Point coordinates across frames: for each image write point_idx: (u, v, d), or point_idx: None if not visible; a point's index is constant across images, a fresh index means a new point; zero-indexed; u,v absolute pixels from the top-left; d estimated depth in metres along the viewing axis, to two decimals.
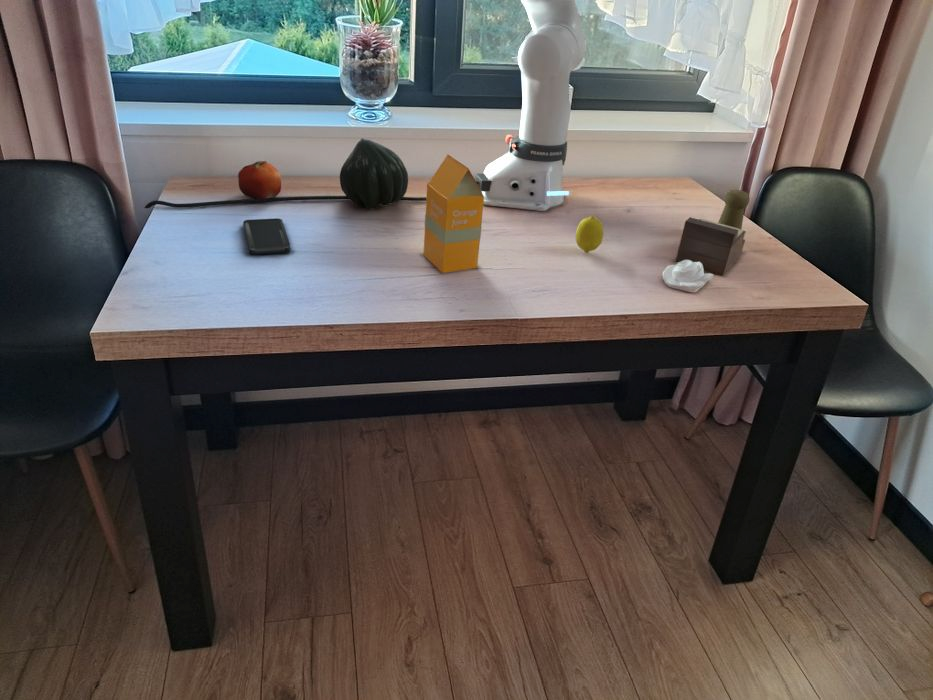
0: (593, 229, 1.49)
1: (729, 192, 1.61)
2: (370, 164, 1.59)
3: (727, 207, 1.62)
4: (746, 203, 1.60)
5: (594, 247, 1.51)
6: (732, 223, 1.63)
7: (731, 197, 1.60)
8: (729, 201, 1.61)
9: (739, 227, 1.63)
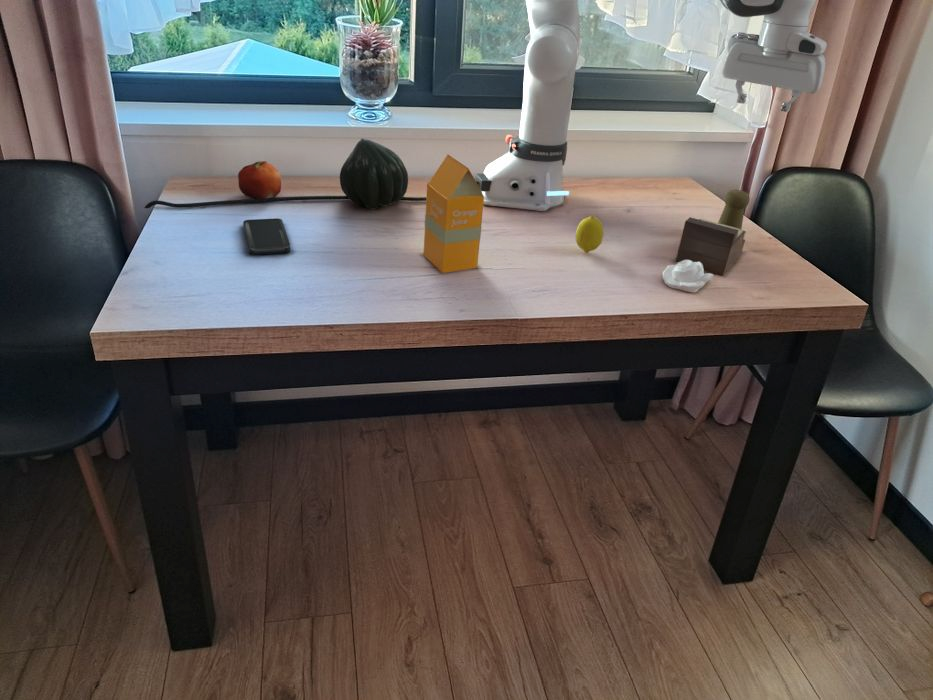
0: (593, 229, 1.49)
1: (729, 192, 1.61)
2: (370, 164, 1.59)
3: (727, 207, 1.62)
4: (746, 203, 1.60)
5: (594, 247, 1.51)
6: (732, 223, 1.63)
7: (731, 197, 1.60)
8: (730, 201, 1.61)
9: (739, 227, 1.63)
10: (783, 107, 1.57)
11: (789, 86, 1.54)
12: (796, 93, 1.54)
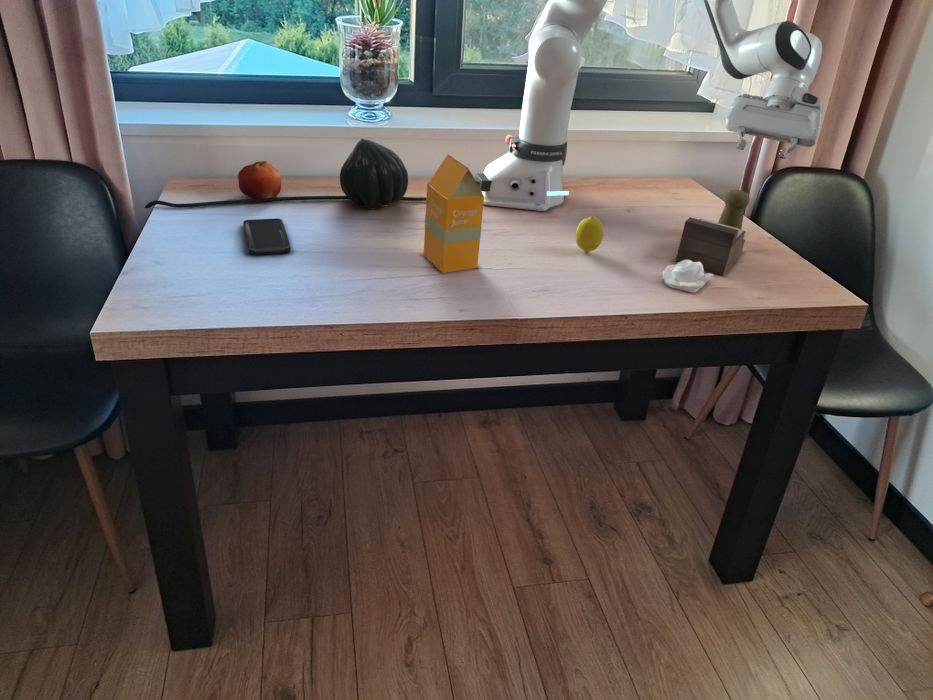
0: (593, 229, 1.49)
1: (729, 192, 1.61)
2: (370, 164, 1.59)
3: (727, 207, 1.62)
4: (746, 203, 1.60)
5: (594, 247, 1.51)
6: (732, 223, 1.63)
7: (731, 197, 1.60)
8: (730, 201, 1.61)
9: (739, 227, 1.63)
10: (782, 151, 1.65)
11: (790, 132, 1.64)
12: (795, 140, 1.64)
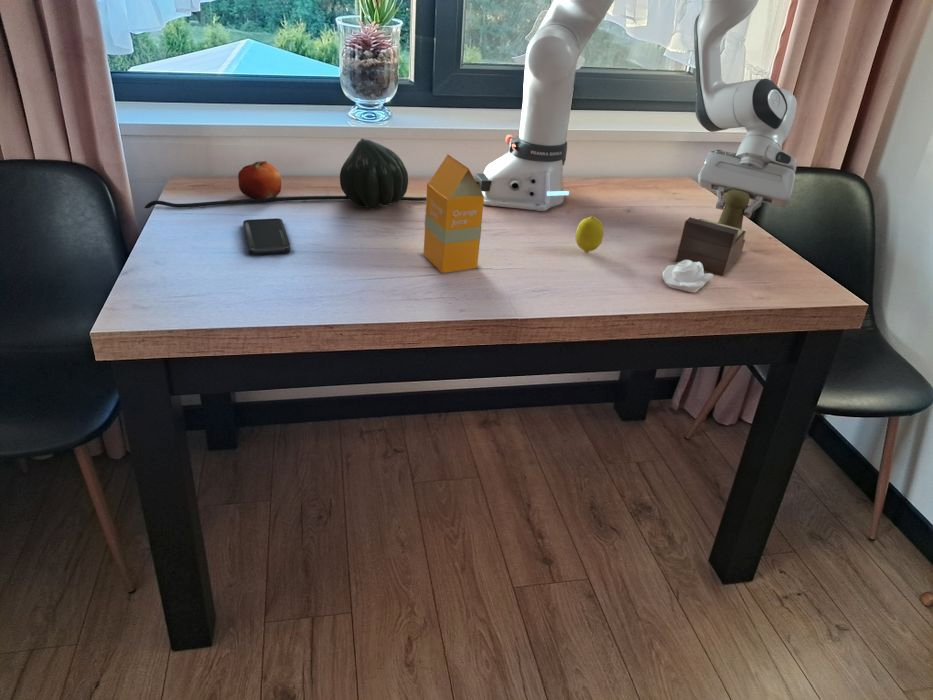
0: (593, 229, 1.49)
1: (729, 192, 1.61)
2: (370, 164, 1.59)
3: (727, 207, 1.62)
4: (746, 203, 1.60)
5: (594, 247, 1.51)
6: (732, 223, 1.63)
7: (731, 197, 1.60)
8: (729, 201, 1.61)
9: (739, 227, 1.63)
10: (747, 209, 1.61)
11: (763, 191, 1.60)
12: (760, 198, 1.61)
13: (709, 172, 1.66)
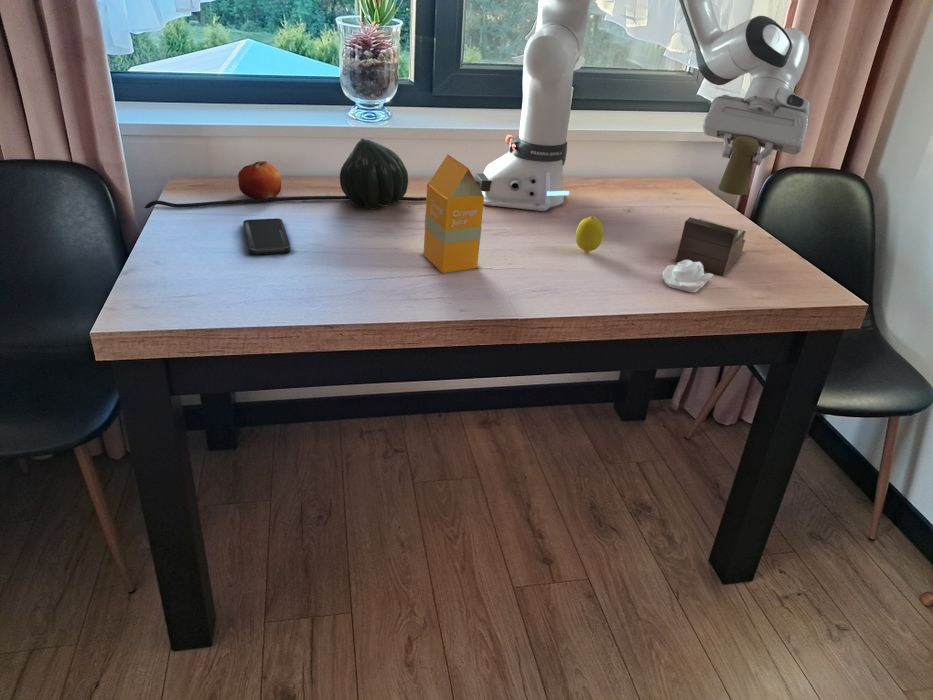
0: (593, 229, 1.49)
1: (736, 138, 1.50)
2: (370, 164, 1.59)
3: (734, 155, 1.50)
4: (755, 150, 1.49)
5: (594, 247, 1.51)
6: (740, 172, 1.51)
7: (739, 143, 1.48)
8: (737, 147, 1.49)
9: (747, 177, 1.51)
10: (755, 156, 1.49)
11: (773, 137, 1.49)
12: (770, 144, 1.49)
13: (715, 118, 1.54)
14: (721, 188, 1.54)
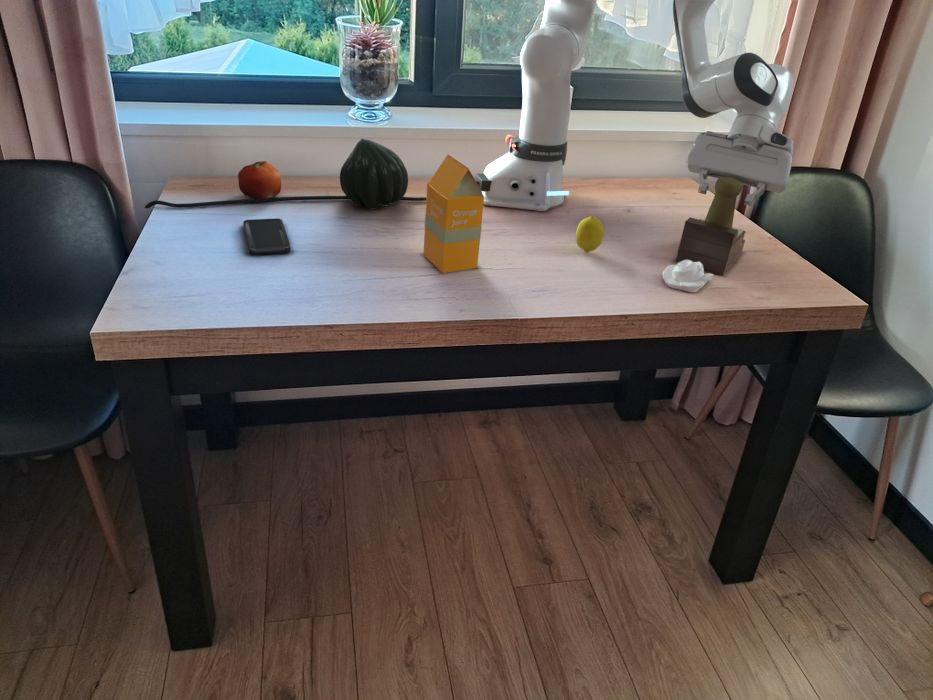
0: (593, 229, 1.49)
1: (720, 179, 1.48)
2: (370, 164, 1.59)
3: (717, 195, 1.49)
4: (738, 191, 1.47)
5: (594, 247, 1.51)
6: (723, 213, 1.49)
7: (722, 185, 1.47)
8: (720, 189, 1.48)
9: (730, 217, 1.50)
10: (748, 197, 1.47)
11: (756, 176, 1.47)
12: (762, 185, 1.47)
13: (698, 155, 1.52)
14: None
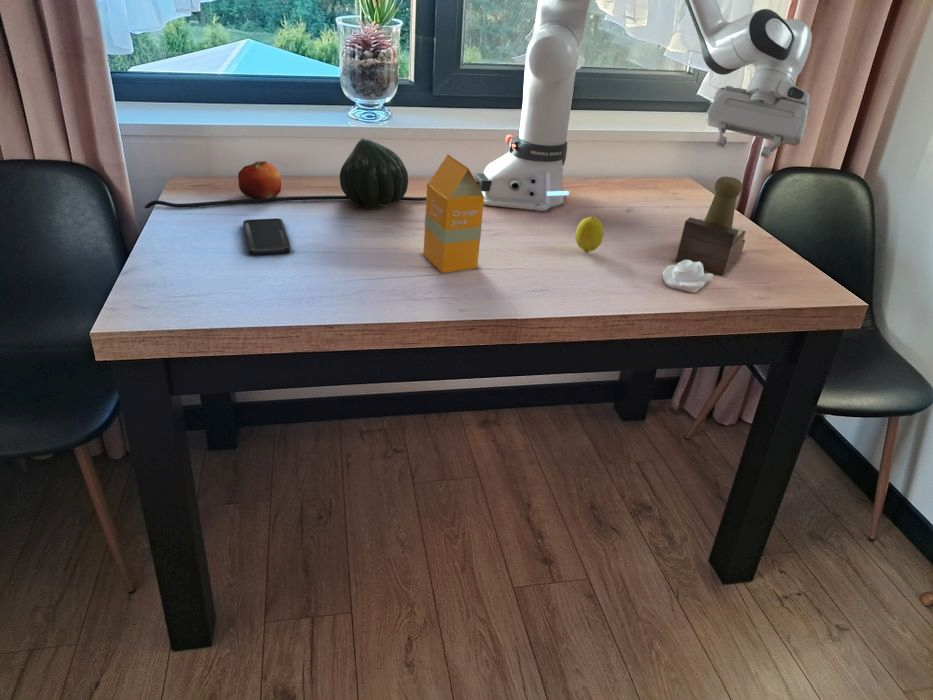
0: (593, 229, 1.49)
1: (720, 179, 1.48)
2: (370, 164, 1.59)
3: (717, 195, 1.49)
4: (738, 191, 1.47)
5: (594, 247, 1.51)
6: (723, 213, 1.49)
7: (722, 185, 1.47)
8: (720, 189, 1.48)
9: (730, 217, 1.50)
10: (764, 150, 1.54)
11: (773, 129, 1.53)
12: (779, 138, 1.53)
13: (718, 110, 1.59)
14: None
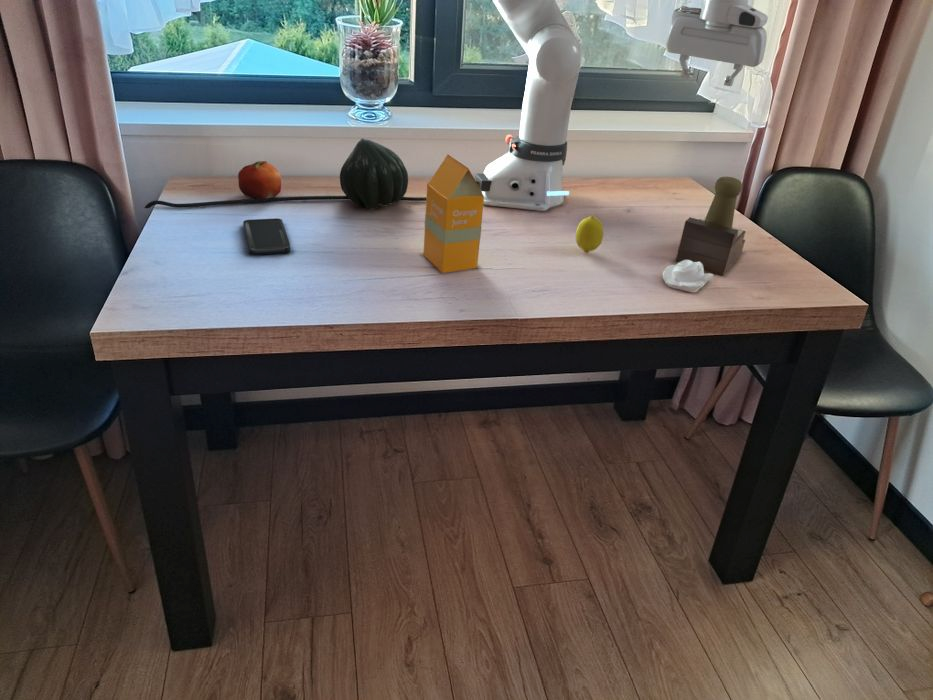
0: (593, 229, 1.49)
1: (720, 179, 1.48)
2: (370, 164, 1.59)
3: (717, 195, 1.49)
4: (738, 191, 1.47)
5: (594, 247, 1.51)
6: (723, 213, 1.49)
7: (722, 185, 1.47)
8: (720, 189, 1.48)
9: (730, 217, 1.50)
10: (726, 81, 1.57)
11: (731, 60, 1.54)
12: (738, 67, 1.54)
13: (675, 42, 1.58)
14: None
